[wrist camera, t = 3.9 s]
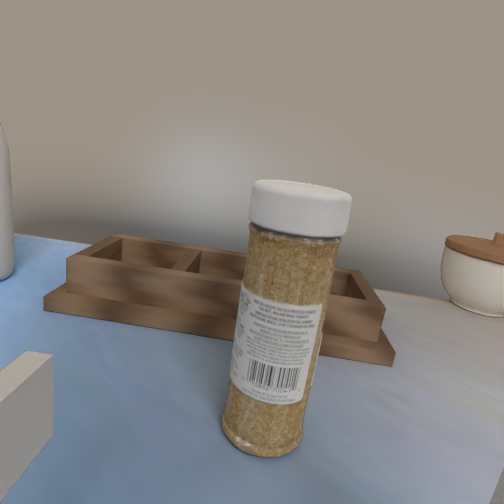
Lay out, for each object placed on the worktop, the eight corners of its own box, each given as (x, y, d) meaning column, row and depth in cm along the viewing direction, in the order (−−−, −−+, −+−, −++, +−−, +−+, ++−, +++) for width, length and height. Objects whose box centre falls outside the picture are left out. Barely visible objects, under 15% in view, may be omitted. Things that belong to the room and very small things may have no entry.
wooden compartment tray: (358, 305, 40) (367, 269, 39) (391, 366, 29) (405, 317, 28) (109, 266, 41) (111, 229, 40) (43, 310, 29) (43, 260, 28)
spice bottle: (310, 419, 22) (360, 190, 18) (286, 477, 17) (345, 196, 14) (240, 391, 23) (273, 176, 19) (203, 438, 19) (237, 177, 15)
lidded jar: (548, 324, 43) (578, 247, 41) (489, 330, 39) (519, 245, 36) (466, 288, 52) (487, 224, 50) (412, 290, 48) (431, 220, 46)
